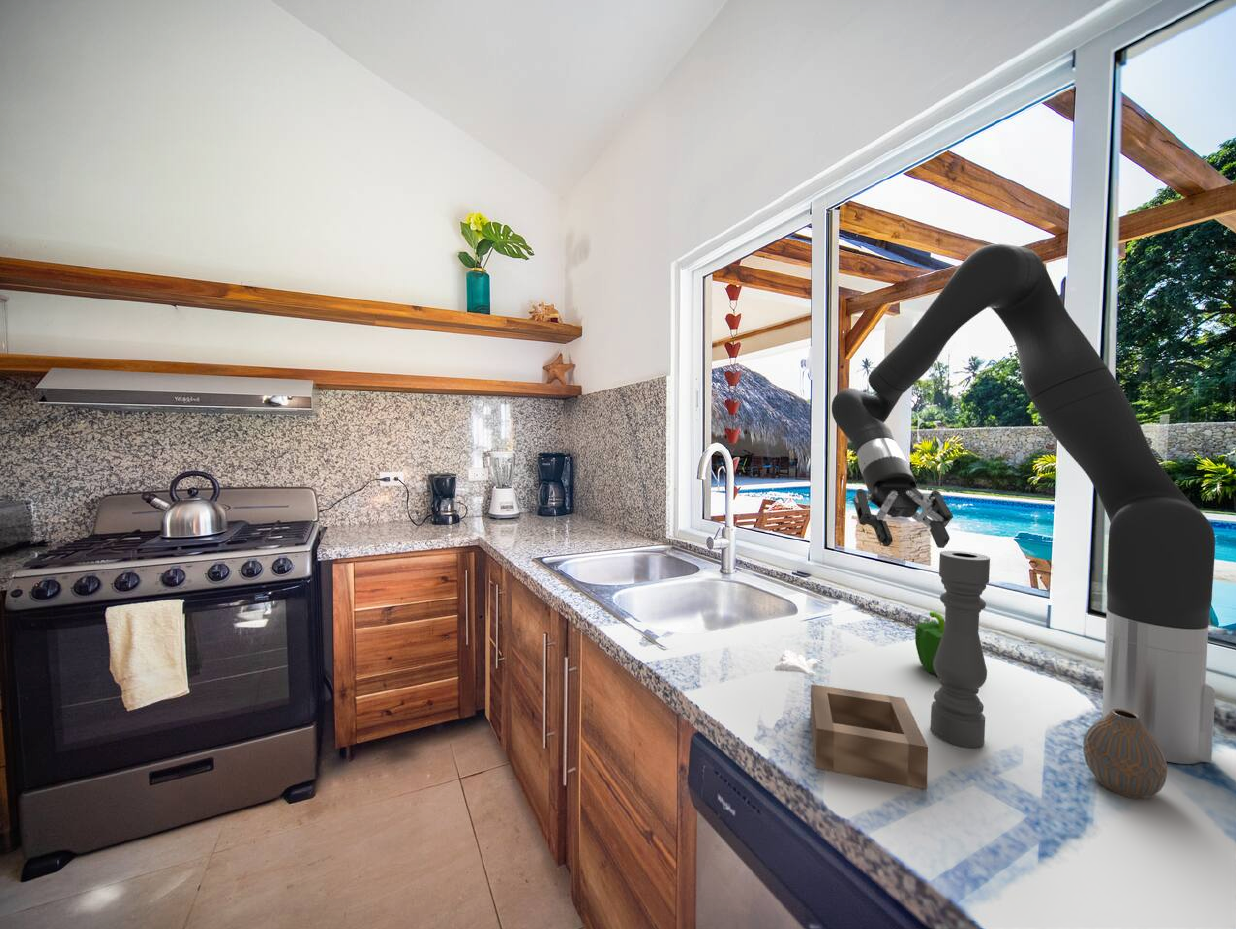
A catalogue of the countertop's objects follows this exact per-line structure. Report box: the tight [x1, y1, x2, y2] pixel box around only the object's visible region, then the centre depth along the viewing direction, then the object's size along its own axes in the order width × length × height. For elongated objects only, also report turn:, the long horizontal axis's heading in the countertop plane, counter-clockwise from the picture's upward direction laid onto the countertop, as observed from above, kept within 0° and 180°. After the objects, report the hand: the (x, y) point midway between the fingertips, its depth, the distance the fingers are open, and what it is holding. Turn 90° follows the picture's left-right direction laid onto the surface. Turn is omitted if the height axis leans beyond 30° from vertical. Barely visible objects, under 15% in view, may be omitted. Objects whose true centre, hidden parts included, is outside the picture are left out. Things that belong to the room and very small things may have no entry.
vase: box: [1082, 709, 1168, 799], centre depth 59 cm, size 7×7×9 cm
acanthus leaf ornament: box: [775, 649, 823, 677], centre depth 91 cm, size 8×7×2 cm
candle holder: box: [930, 550, 991, 749], centre depth 69 cm, size 6×6×25 cm
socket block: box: [809, 683, 929, 790], centre depth 65 cm, size 12×12×5 cm
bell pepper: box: [914, 611, 945, 676], centre depth 89 cm, size 8×8×10 cm
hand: (916, 544), depth 80 cm, fingers open, 8 cm apart
